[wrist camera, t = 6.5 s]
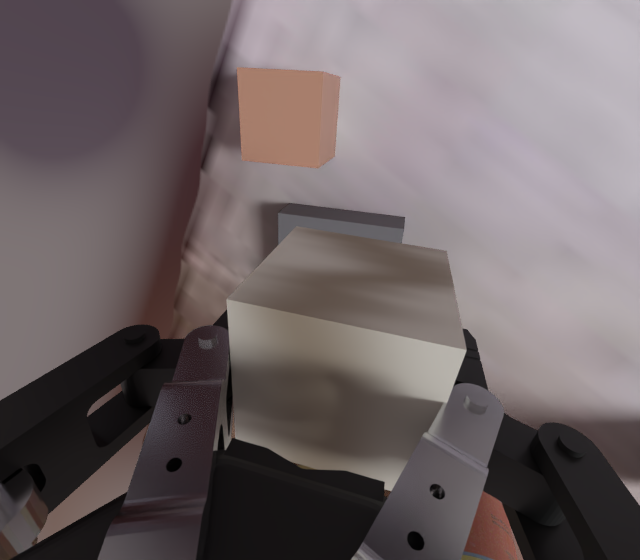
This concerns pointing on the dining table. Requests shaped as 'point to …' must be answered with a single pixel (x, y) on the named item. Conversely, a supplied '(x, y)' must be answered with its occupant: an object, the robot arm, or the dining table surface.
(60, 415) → the robot arm
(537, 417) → the dining table surface
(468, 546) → the canned food
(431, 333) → the cream cube
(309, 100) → the terracotta cube
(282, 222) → the plinth
